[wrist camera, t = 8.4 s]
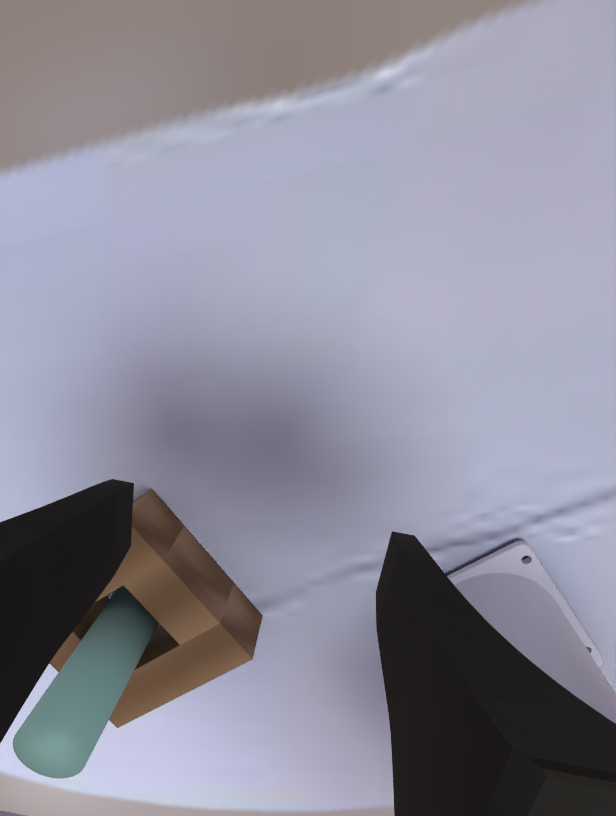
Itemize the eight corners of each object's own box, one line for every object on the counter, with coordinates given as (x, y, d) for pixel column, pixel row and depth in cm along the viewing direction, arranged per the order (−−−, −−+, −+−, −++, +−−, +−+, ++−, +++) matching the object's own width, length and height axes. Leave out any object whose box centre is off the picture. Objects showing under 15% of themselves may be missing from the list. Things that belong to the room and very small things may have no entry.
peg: (180, 599, 26) (101, 763, 17) (143, 620, 27) (49, 787, 18) (148, 563, 25) (49, 714, 17) (111, 585, 26) (-3, 740, 17)
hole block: (262, 615, 26) (252, 659, 23) (140, 681, 28) (117, 728, 25) (151, 489, 24) (126, 519, 21) (29, 571, 26) (-9, 608, 23)
